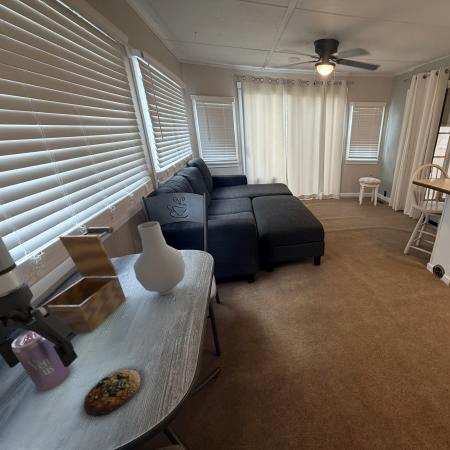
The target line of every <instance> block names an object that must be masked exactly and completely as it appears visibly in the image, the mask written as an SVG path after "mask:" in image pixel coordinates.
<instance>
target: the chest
mask: <svg viewBox="0 0 450 450" xmlns="http://www.w3.org/2000/svg"><path fill="white" fill-rule="evenodd" d="M126 300H127V299H126V295H125V292H124V290H123V287H122V284H121V281H120V279H119V277H118V276H105V277H98V276H87V277H82V278H80V279H78V280H77V281H75V282H74V283H72V284H70V285H69V286H68V287H67V288H66V289H63V291H60V292H59V293H57V294H55V296H53V297H52V298H50V299H48V300H47V301H46V302H44V303H43V304H41V305H40V306H39V307H38V308H40V307H41V306H42V305H47V306H48V307H49V308H50V310H51V311H52V312H53V313H54V314H55V315H56V316H57V317H58V318H60V319H61V320H62V321H63V322H64V323H65V324H67V325H68V326H69V327H70V328H71V329H72V330H74V331H75V332H76V333H92V332H93V331H95V329H96V328H97V327H99V325H101V324H102V322H103V321H105V320H106V319H107V318H108V317H109V316H110V315H111V314H112V313H113V312H114V311H115V310H116V309H118V307H120V305H122V304H123V302H124V301H126Z"/></svg>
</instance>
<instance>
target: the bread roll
mask: <svg viewBox="0 0 450 450" xmlns="http://www.w3.org/2000/svg"><path fill="white" fill-rule="evenodd" d="M140 387H141V376H140V374H139V372H138V371H136V370H133V369H121V370H117V371H114V372H112V373H110V374H109V375H107V376H105V377H103V378H102V379H100V380H98V382H97V383H96V384H95V385H93V386H92V388H90V390H89V391H88V393H87V394H86V396H85V397H84V403H83V408H84V412H85V414H87V415H88V416H91V417H95V418H96V417H103V416H107V415H109V414H111V413H113V412H115V411H116V410H118V409H120V408H121V407H122V406H124V405H125V404H126V403H127V402H128V401H129V400H130V399H131V398H133V397H134V396H135V394H136V393H137V392H138V391H139V389H140Z"/></svg>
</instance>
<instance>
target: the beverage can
mask: <svg viewBox="0 0 450 450" xmlns="http://www.w3.org/2000/svg"><path fill="white" fill-rule="evenodd" d="M13 340H14V341H13V342H12V344H11V347H12V351H13V352H14V354H15V355H16V357H17V358H18V360H19V361H20V362H19V363H20V364H21V366H22V368H23V369H24V370H25V372H26V374H27V375H28V377H29V378H30V379H31V381H32V383H33V384H34V386H35V387H36V388H37V390H38V391H41V392H46V391H49V390H51V389H54V388H56V387H57V386H59V385H60V384H62V383H63V382H64V381H65V380H66V379H67V378H68V377H69V376H70V373H71V370H70V368H69V366H68V367H64V365H63V363H62V361H61V360H60V358H59V356H58V355H57V353H56V351H55V349H54V348H53V347H54V346H55V344H54V343H52V342H50V341H48V340H47V339H45V338H43V337H42V336H40V335H38V334H37V333H35V332H33V331H31V330H29V331H26V332H24V333H22V334H21V335H19V336H18V337H16V338H15V339H13Z"/></svg>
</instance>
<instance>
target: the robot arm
mask: <svg viewBox="0 0 450 450" xmlns="http://www.w3.org/2000/svg"><path fill="white" fill-rule="evenodd" d="M1 234H2V233H0V355H1V357H2V358H3V360H4V361H5V363H6V365H7V366H8V367H9V368H11V369H13V368H14V367H16V366H17V365H19V363H20V361H19V360H18V358H17V357H16V355H15V354H14V352H13V351H12V347H11V344H12V342H13V341H14V340H15V339H14V338H13V337H11V336H12V335H11V331H12V329H15V328H16V329H17V328H18V329H22V330H24V331H26V332H29V331H33V332H35V333H37V334H38V335H40V336H42V337H43V338H45V339H47V340H48V341H50V342H52V343H54V344H55V346H54V347H53V348H54V349H55V351H56V353H57V355H58V356H59V358H60V360H61V361H62V363H63V365H64V367H68V368H69V366H71V364H73V362H74V361H76V360H77V358H79V356H78V355H77V353H76V351H75V346H74V345H73V343H72V340H73V339H74V338H75V337H76V336H77V333H78V332H75V331H74V330H72V329H71V328H70V327H69V326H68V325H67V324H65V323H64V322H63V321H62V320H61V319H60V318H58V317H57V316H56V315H55V314H54V313H53V312H52V311H51V310H50V308H49V307H48V306H47V305H43V304H41V305H42V306H41V305H40V306H41V307H40V306H39V307H40V308H39V307H36V306H33V304H31V301H32V300H33V297H34V294H33V292H32V290H31V288H30V286H29V285H28V283H27V282H25V281H26V278H25V277H24V275H23V273H22V272H21V270H20V268H19V266H18V265H17V264H16V261H15V260H14V258H13V257H12V253H10V251H9V249H8V247H7V245H6V243H5V241H4V240H3V238H2V235H1Z"/></svg>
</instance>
